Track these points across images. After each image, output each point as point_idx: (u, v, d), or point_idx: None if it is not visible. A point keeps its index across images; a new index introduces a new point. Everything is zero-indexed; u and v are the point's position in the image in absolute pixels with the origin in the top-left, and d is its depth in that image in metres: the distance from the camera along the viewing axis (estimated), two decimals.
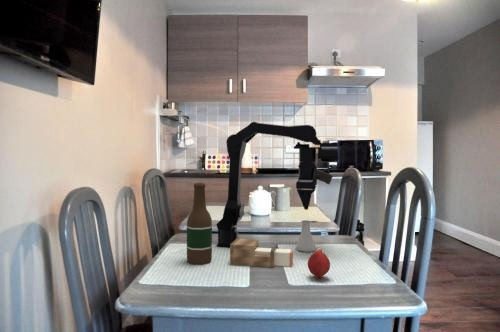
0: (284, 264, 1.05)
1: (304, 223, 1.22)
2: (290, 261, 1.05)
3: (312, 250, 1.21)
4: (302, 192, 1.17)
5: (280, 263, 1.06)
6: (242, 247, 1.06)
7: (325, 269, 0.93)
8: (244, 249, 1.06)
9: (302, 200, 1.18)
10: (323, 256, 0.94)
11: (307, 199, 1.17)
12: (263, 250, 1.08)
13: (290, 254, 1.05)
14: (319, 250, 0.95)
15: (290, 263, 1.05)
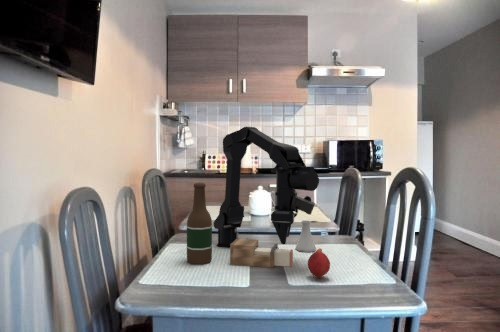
0: (284, 264, 1.05)
1: (304, 223, 1.22)
2: (290, 261, 1.05)
3: (312, 250, 1.21)
4: (278, 224, 1.01)
5: (280, 263, 1.06)
6: (242, 247, 1.06)
7: (325, 268, 0.93)
8: (244, 249, 1.06)
9: (278, 234, 1.02)
10: (323, 256, 0.94)
11: (284, 232, 1.01)
12: (263, 250, 1.08)
13: (290, 254, 1.05)
14: (319, 250, 0.95)
15: (290, 263, 1.05)
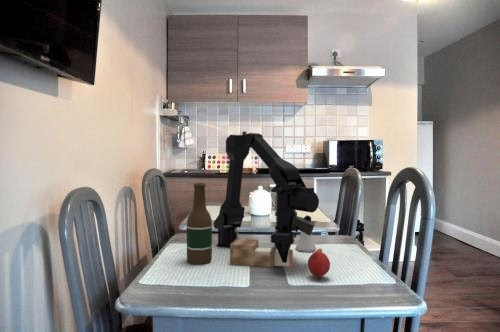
0: (284, 264, 1.05)
1: None
2: (290, 261, 1.05)
3: (312, 250, 1.21)
4: (279, 243, 1.04)
5: (280, 263, 1.06)
6: (242, 247, 1.06)
7: (325, 268, 0.93)
8: (244, 249, 1.06)
9: (279, 252, 1.04)
10: (323, 256, 0.94)
11: (285, 251, 1.04)
12: (263, 250, 1.08)
13: (290, 254, 1.05)
14: (319, 250, 0.95)
15: (290, 263, 1.05)
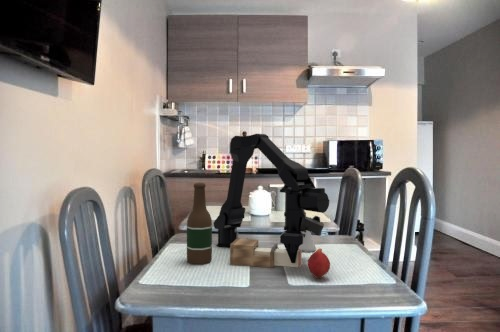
0: (293, 265, 1.05)
1: None
2: (299, 262, 1.04)
3: (312, 250, 1.21)
4: (289, 244, 1.03)
5: (289, 264, 1.05)
6: (242, 247, 1.06)
7: (325, 269, 0.93)
8: (244, 249, 1.06)
9: (288, 253, 1.04)
10: (323, 256, 0.94)
11: (294, 252, 1.03)
12: None
13: (299, 255, 1.04)
14: (319, 250, 0.95)
15: (299, 264, 1.04)
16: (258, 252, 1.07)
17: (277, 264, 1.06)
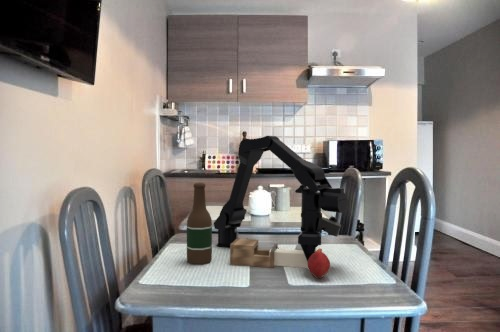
0: None
1: None
2: None
3: None
4: (306, 245, 1.02)
5: (306, 265, 1.04)
6: (242, 247, 1.06)
7: (325, 269, 0.93)
8: (244, 249, 1.06)
9: (305, 254, 1.03)
10: (323, 256, 0.94)
11: (311, 253, 1.02)
12: (288, 252, 1.06)
13: None
14: (319, 250, 0.95)
15: None
16: (274, 253, 1.06)
17: (293, 265, 1.05)
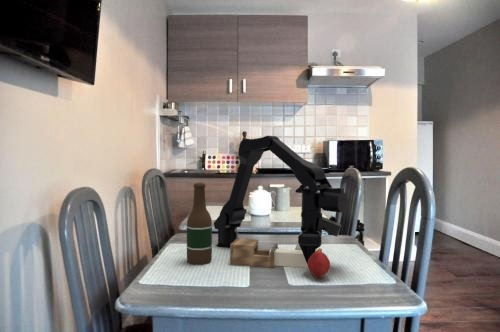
0: None
1: None
2: None
3: None
4: (305, 247, 1.00)
5: (306, 265, 1.04)
6: (242, 247, 1.06)
7: (325, 268, 0.93)
8: (244, 249, 1.06)
9: (305, 256, 1.00)
10: (323, 256, 0.94)
11: None
12: (288, 252, 1.06)
13: None
14: (319, 250, 0.95)
15: None
16: (274, 253, 1.06)
17: (294, 265, 1.05)
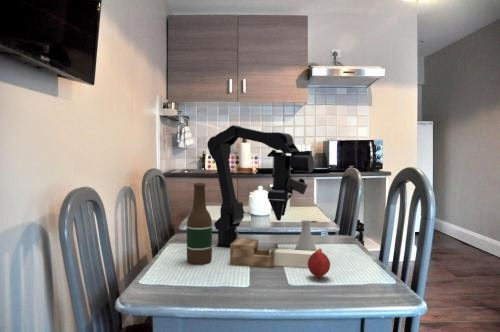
0: None
1: (304, 223, 1.22)
2: None
3: (312, 250, 1.21)
4: (274, 202, 1.13)
5: (306, 265, 1.04)
6: (242, 247, 1.06)
7: (325, 269, 0.93)
8: (244, 249, 1.06)
9: (274, 211, 1.14)
10: (323, 256, 0.94)
11: (279, 210, 1.13)
12: (288, 252, 1.06)
13: None
14: (319, 250, 0.95)
15: None
16: (274, 253, 1.06)
17: (294, 265, 1.05)
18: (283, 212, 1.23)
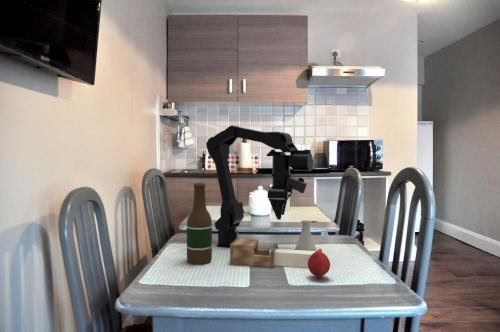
0: None
1: (304, 223, 1.22)
2: None
3: (312, 250, 1.21)
4: (274, 201, 1.13)
5: (306, 265, 1.04)
6: (242, 247, 1.06)
7: (325, 268, 0.93)
8: (244, 249, 1.06)
9: (274, 210, 1.14)
10: (323, 256, 0.94)
11: (279, 209, 1.13)
12: (288, 252, 1.06)
13: None
14: (319, 250, 0.95)
15: None
16: (274, 253, 1.06)
17: (294, 265, 1.05)
18: (283, 211, 1.23)
